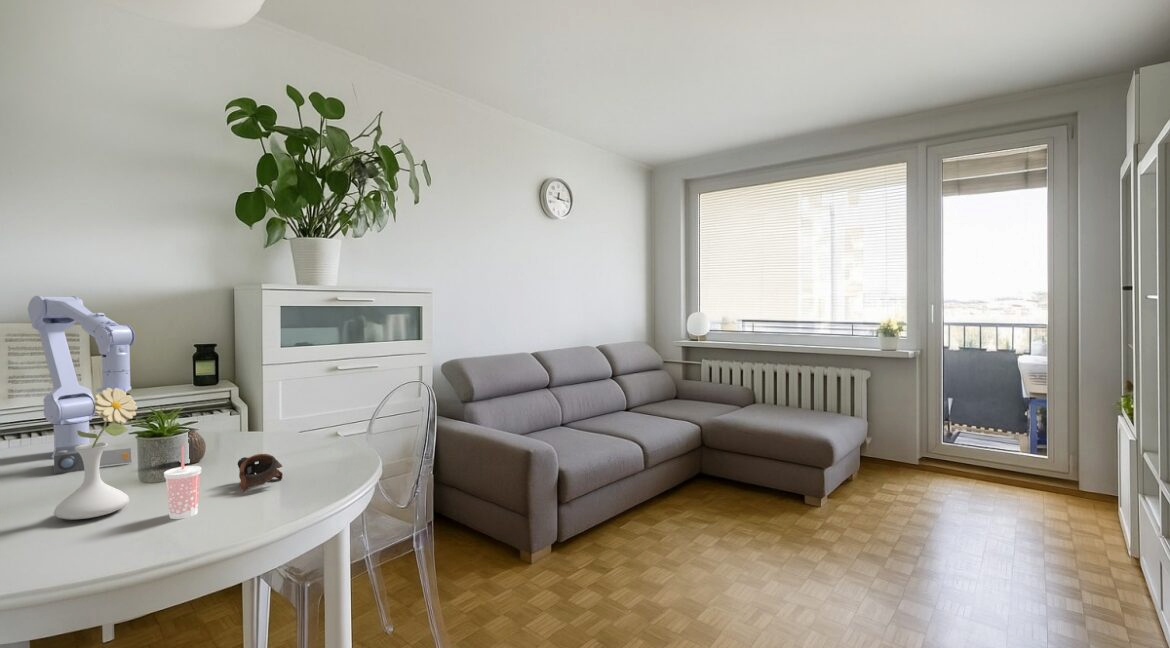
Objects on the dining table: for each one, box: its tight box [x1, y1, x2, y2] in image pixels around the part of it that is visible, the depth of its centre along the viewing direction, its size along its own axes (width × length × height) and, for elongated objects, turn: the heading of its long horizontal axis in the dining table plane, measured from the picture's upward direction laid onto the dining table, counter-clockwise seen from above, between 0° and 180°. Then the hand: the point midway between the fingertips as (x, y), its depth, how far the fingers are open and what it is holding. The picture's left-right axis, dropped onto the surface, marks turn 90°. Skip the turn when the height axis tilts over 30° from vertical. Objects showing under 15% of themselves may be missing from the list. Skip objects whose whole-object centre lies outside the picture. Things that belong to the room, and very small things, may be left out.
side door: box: [99, 446, 133, 467], centre depth 143 cm, size 8×1×4 cm, turn 123°
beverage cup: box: [163, 445, 202, 520], centre depth 111 cm, size 6×6×14 cm
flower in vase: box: [53, 388, 138, 520], centre depth 112 cm, size 13×11×25 cm
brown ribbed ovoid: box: [188, 428, 207, 465], centre depth 147 cm, size 7×7×9 cm
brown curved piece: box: [237, 453, 284, 492], centre depth 130 cm, size 12×10×8 cm
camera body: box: [53, 444, 84, 474], centre depth 142 cm, size 11×6×5 cm, turn 41°
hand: (117, 421), depth 148 cm, fingers closed
